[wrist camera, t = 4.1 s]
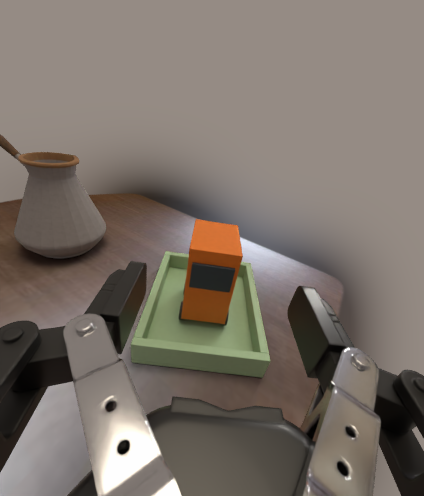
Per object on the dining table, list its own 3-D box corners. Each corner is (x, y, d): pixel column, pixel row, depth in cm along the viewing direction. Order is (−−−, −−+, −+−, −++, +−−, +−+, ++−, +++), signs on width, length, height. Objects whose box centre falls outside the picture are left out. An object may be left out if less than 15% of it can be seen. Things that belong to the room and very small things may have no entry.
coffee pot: (123, 243, 39) (118, 146, 31) (54, 277, 29) (23, 153, 22) (41, 205, 46) (20, 119, 38) (-35, 224, 36) (-83, 115, 29)
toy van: (184, 286, 31) (193, 218, 26) (224, 292, 31) (240, 225, 26) (177, 326, 25) (185, 249, 20) (225, 333, 26) (246, 258, 21)
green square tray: (164, 265, 35) (165, 250, 34) (246, 277, 36) (250, 263, 34) (131, 362, 22) (130, 344, 20) (262, 377, 22) (270, 361, 21)
